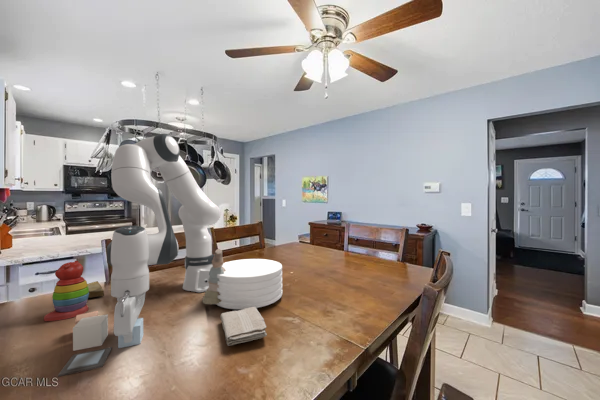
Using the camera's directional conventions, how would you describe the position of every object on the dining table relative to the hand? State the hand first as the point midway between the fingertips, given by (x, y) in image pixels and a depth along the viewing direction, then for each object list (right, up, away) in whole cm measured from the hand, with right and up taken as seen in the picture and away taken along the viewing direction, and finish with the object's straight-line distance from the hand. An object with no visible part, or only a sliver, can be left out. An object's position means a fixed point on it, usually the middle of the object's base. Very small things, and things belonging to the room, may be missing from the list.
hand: (131, 335), depth 70 cm
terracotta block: (-16, -2, +5) cm, 17 cm away
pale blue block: (0, -2, 0) cm, 2 cm away
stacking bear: (-33, -2, +17) cm, 37 cm away
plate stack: (+25, -2, +34) cm, 43 cm away
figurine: (+15, -1, +26) cm, 30 cm away
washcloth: (+29, -2, +8) cm, 30 cm away
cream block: (-11, -2, 0) cm, 11 cm away
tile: (-5, -2, -9) cm, 10 cm away
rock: (-34, -3, +31) cm, 46 cm away
